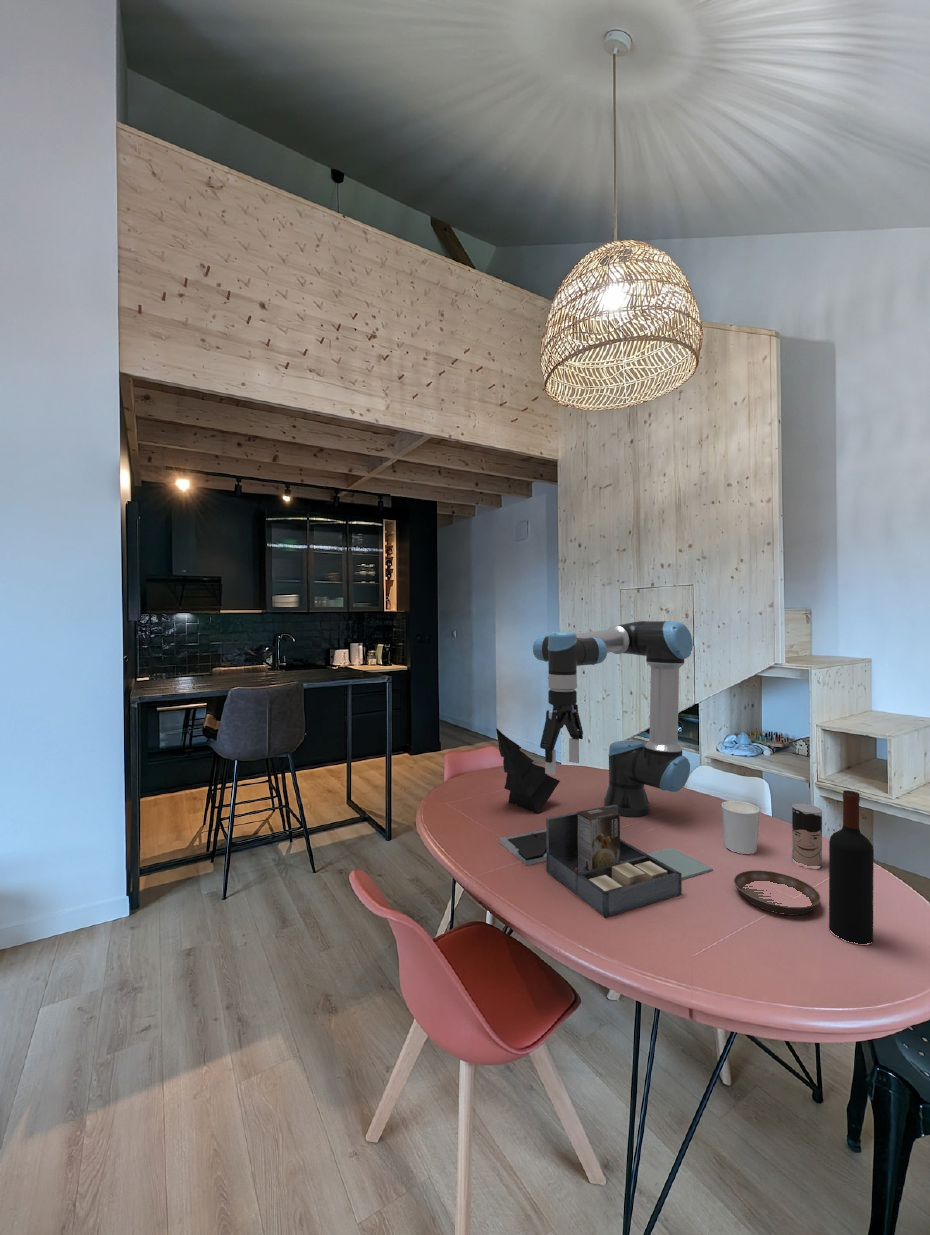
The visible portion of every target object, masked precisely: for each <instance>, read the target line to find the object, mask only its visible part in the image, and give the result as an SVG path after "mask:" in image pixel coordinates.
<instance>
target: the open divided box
mask: <svg viewBox="0 0 930 1235" xmlns="http://www.w3.org/2000/svg"><path fill="white" fill-rule="evenodd" d="M606 808H608V809H610V810H612V811H614V812H616V813H618V805H611V806H606ZM577 812H578V811H577ZM577 812H571V813H567V814H561V815H557V816H551V817H548V818H547V817H546V819H545V820H546V821H545V822H546V824H545V825H546V826H545V827H546V828H545V829H546V836H547V861H546V872H547V873H548V874H549V875H551V876H552V878H554V879H555V880H557V881H558V882H560V883H561V884H562V885H563V886H564V887H566V888H567V889H568V890H569V891H571V892H572V893H574V895H575V896H577V897H578V898H580V899H581V900H582V901H583V902H584V903H586V904H588V905H589V906H590V907H591V908H593V909H594V910H595V911H596V912H598V913H599V914H600V915H601V916H603V917H604V918H605V919H606V918H609V917H613V916H616V915H619V914H621V913H624V912H628V911H632V910H635V909H638V908H641V907H645V906H648V905H651V904H654V903H657V902H660V901H664V900H667V899H670V898H673V897H677V896H680V895H682V891H683V890H682V889H683V888H682V886H683V885H682V884H683V883H682V874H681V873H680V872H678V871H676V870H674V869H673V868H671V867H669V866H667V865H665V864H664V863H662V862H660V861H658V860H657V859H655V858H653V857H651V856H649V855H648V854H647V853H646V852H644V851H642V850H641V849H639V848H637V847H635V846H633V845H632V844H631V843H628V842H627V841H624V840H622V839H621V838H620V862H618V863H614V864H611V865H607V866H603V867H599V868H595V869H591V870H587V871H583V872H580V873H579V872H578V870H576V869H574V867H578V818H577ZM647 861H650V862H652V863H654V864H655V865H657V866H659V867H661V868H662V869H664V870H666V871H667V875H665V876H662V877H658V878H655V879H651V880H647V881H644V882H640V883H637V884H633V885H630V886H626V887H623V888H619V889H616V890H612V891H609V892H605V891H603V890H602V889H601V888H599V887H598V886H597V885H595V884H594V883H592V882H591V881H590V880H589V879H591V878H595V877H599V876H603V875H606V876H608V877H609V878H611V879H612V867H613V866H616V865H620V864H624V863H629V864H631V865H633V866H634V865H636V864H640V863H644V862H647Z"/></svg>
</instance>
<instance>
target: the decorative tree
mask: <svg viewBox="0 0 930 1235" xmlns="http://www.w3.org/2000/svg"><path fill="white" fill-rule="evenodd" d="M495 730H496V736H497V737H496V738H497V743H498V750H499V755H500V757H501V758H503V759H502V760H503V762H502V764H503V772H504V773H506V777H505V785H504V789H505V790H507V791H509V795H508V802H509V804H511V803H512V805H515V804H516V805H515V806H517V807H519V808H522V809H523V808H524V809H523V810H526V809H527V811H529V812H531V811H532V813H535V814H538V815H539V814H540V812H541V811H542V809H543V807H544V806H545V804H547V802H548V801H549V798H551V796H552V795H553V792H554V791H555V790H556V788H557V787H558V785H559V784H560V783H561V780H560V779H557V778H555V777H552V775H549V774H545V766H541V765H537V764H535V763H533V762H534V761H535V760H533V759H532V758H530V757H529V756H528V755H527V754H526V753H524V751H522V750H521V749H523V748H522V746H520V745H519V744H518V743H516V742H514V740H512V739H510V738H509V737H508V736H506V735H505V734H504V733H502V731H500V730H499V728H497V727H496V728H495Z"/></svg>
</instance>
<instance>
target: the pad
mask: <svg viewBox="0 0 930 1235" xmlns="http://www.w3.org/2000/svg"><path fill="white" fill-rule="evenodd" d="M646 854H648V855H649V856H651V857H653V858H655V859H657V860H658V861H660V862H662V863H664V864H665V865H667V866H669V867H671V868H673V869H674V870H676V871H678V872H680V873H681V874H682V880H683V881H684V880H686V878H687V879H689V877H690V878H693V877H696V875H697V876H699V874H700V875H703V874H702V873H704V874H707V873H710V872H712V871H711V870H713V871H714V868H713V867H711V866H710V865H707V864H706V863H703V862H702V861H699V860H698V859H696V858H694V857H691V856H690V855H688V854H686V853H684V852H682V851H681V850H678V849H676V848H674V847H673V846H672V847H671V846H670V847H668V848H664V849H660V850H656V851H652V852H647V853H646ZM709 871H710V872H709ZM706 872H707V873H706Z"/></svg>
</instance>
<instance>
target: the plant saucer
mask: <svg viewBox="0 0 930 1235" xmlns="http://www.w3.org/2000/svg"><path fill="white" fill-rule="evenodd" d="M754 881H770V882H773V883H777V884H785V885H787V886H788V887H793V888H795V889H796V890H797V891H800V892H802V894H804V895H806V897H809V899H810V901H811V903H812V905H811V906H807V907H788V906H780V905H775V903H777V902H773V903H772V902H767V901H774V900H772V899H763V898H759V897H771V896H763V895H758V894H764V893H763V892H754V891H764V890H757V889H749V888H746V889H745V888H743V887H748V886H745V885H746V884H750V883H751V882H754ZM733 883H734V886H735V887H736V888H737V890H738V892H739V893H740V894H741V896H743V897H744V899H745V900H747V901H748V902H749V903H751V904H752V905H754V906H756V907H757V906H758V908H760V909H762V908H763V909H762V910H764V909H766V910H765V911H767V910H769V911H768V912H771V911H774V912H777V913H776V914H779V913H784V914H783V915H785V914H794V915H793V916H798V914H801V915H805V914H807V913H809V912H811V911H813V909H815V908H816V907H817V906H818V904H819V903H820V902H821V896H820V893H819V892H818V891H817V889H815V888H814V886H811V885H810V884H808V883H807V882H806V881H804V880H801V879H799V878H796V877H793V876H791V875H787V874H784V873H779V872H775V871H769V870H761V869H760V870H759V869H757V870H755V869H754V870H753V869H752V870H747V871H741V872H739V873H737V874H736V875H735V876H734V878H733ZM749 887H753V886H749ZM766 891H767V890H766ZM770 894H771V893H770ZM777 904H782V903H777ZM774 912H773V913H774ZM804 913H805V914H804ZM796 914H797V915H796Z"/></svg>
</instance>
